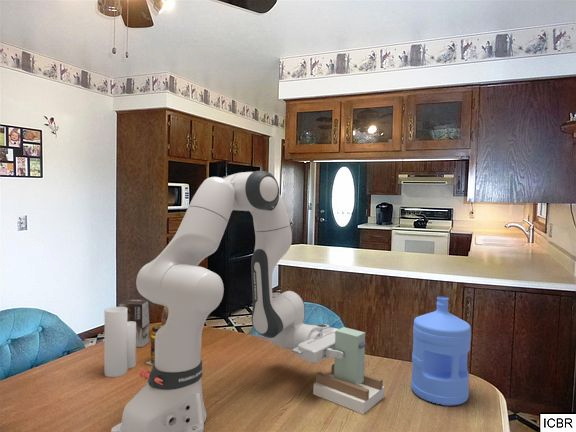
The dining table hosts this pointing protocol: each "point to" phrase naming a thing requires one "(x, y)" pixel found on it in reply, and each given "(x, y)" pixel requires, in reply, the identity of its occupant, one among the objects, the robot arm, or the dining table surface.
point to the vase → (119, 342)
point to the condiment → (153, 343)
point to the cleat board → (349, 391)
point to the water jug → (440, 356)
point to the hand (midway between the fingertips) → (349, 352)
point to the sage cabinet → (350, 355)
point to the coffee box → (138, 319)
